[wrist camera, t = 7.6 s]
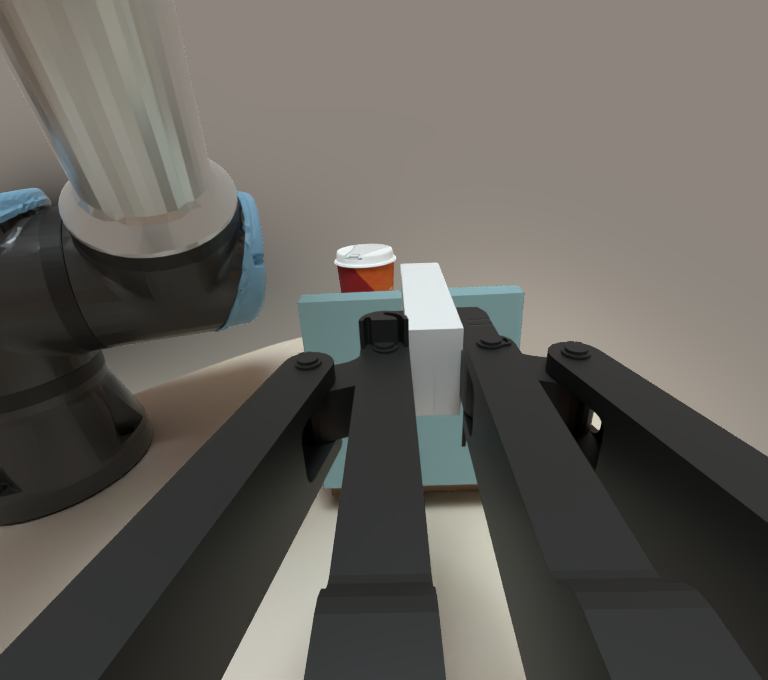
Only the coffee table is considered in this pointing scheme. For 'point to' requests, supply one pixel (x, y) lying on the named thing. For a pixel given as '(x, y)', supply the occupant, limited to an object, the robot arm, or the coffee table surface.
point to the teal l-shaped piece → (342, 342)
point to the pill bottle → (365, 268)
